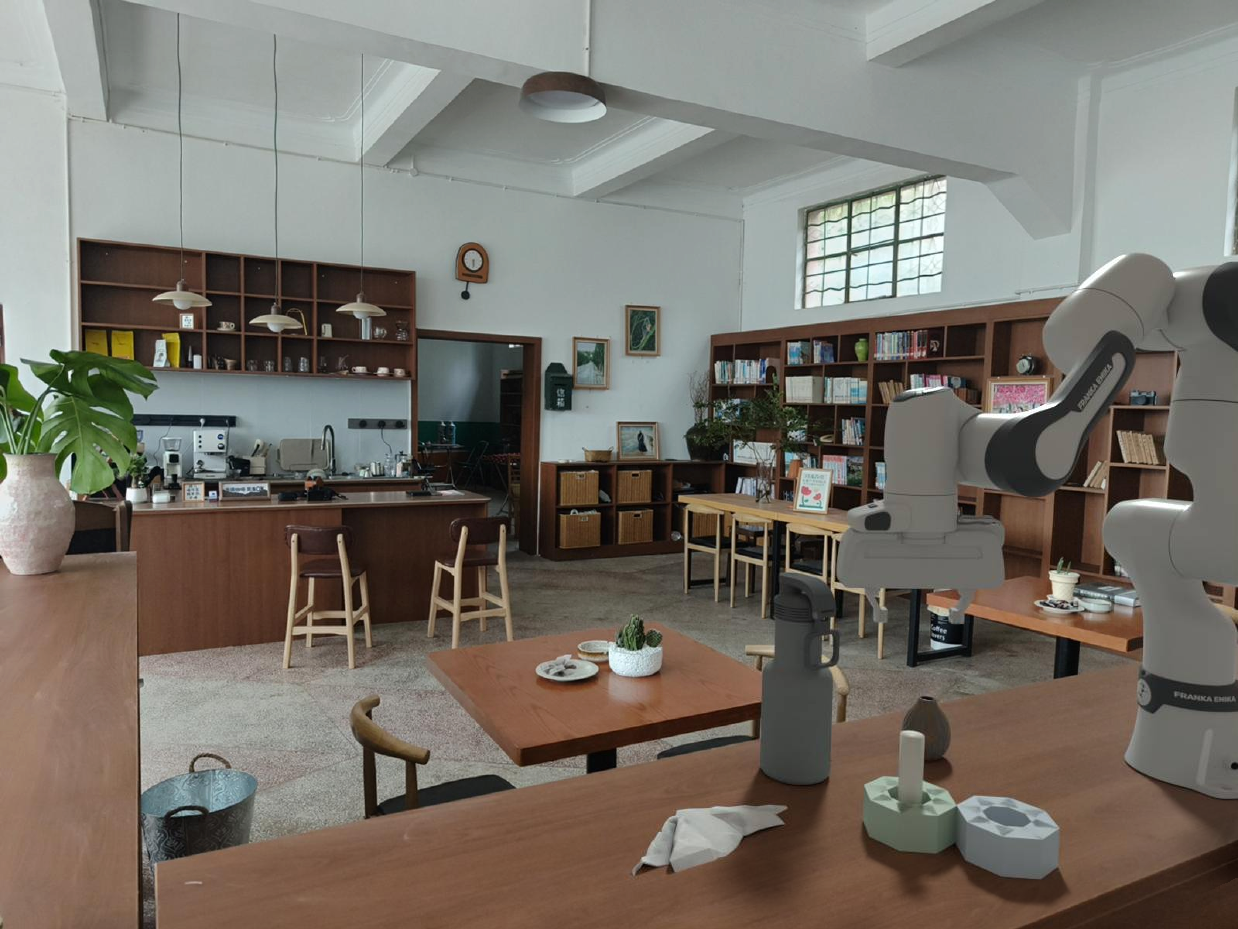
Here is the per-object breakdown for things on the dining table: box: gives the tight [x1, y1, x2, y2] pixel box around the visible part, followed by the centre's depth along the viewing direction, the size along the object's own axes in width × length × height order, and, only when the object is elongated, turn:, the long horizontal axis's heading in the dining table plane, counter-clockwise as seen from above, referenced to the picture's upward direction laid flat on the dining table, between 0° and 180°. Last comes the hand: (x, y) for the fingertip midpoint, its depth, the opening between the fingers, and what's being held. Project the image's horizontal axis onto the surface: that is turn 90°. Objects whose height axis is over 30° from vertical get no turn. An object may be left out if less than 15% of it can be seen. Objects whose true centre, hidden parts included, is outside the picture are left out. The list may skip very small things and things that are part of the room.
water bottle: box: [759, 571, 841, 786], centre depth 116 cm, size 10×10×28 cm
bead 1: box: [862, 776, 958, 855], centre depth 101 cm, size 10×10×4 cm
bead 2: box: [954, 795, 1061, 880], centre depth 96 cm, size 10×10×4 cm
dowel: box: [898, 730, 925, 805], centre depth 101 cm, size 3×3×12 cm
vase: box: [901, 695, 952, 762], centre depth 124 cm, size 7×7×9 cm
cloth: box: [631, 804, 788, 877], centre depth 100 cm, size 26×14×2 cm, turn 117°
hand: (918, 622), depth 106 cm, fingers open, 8 cm apart
